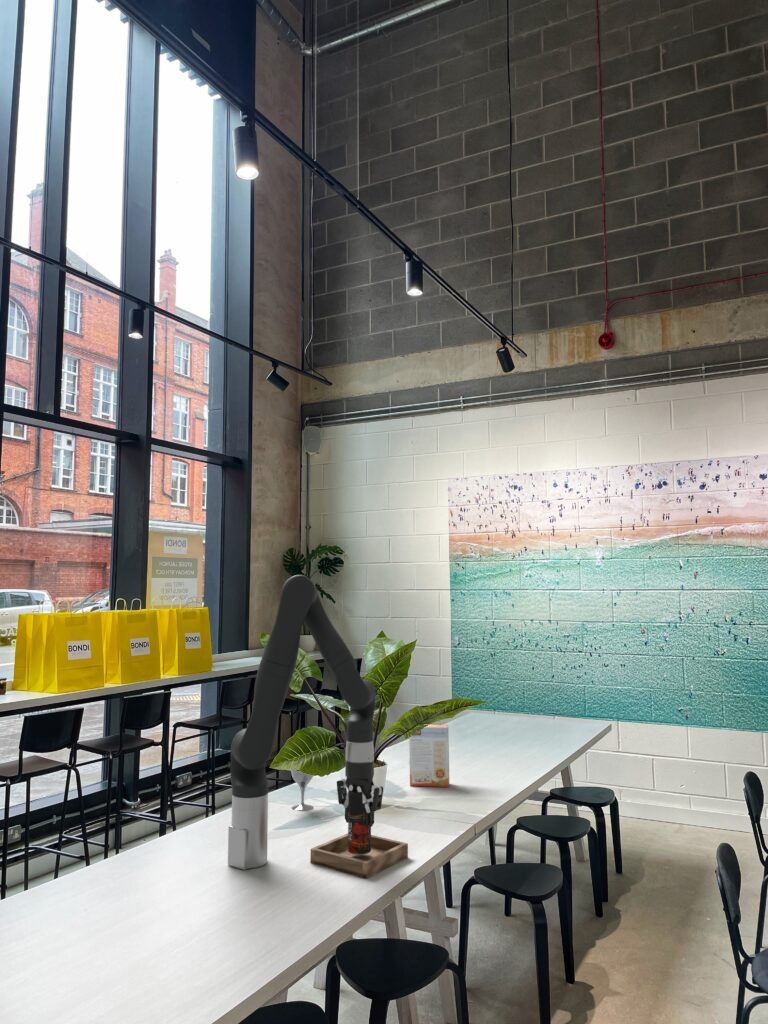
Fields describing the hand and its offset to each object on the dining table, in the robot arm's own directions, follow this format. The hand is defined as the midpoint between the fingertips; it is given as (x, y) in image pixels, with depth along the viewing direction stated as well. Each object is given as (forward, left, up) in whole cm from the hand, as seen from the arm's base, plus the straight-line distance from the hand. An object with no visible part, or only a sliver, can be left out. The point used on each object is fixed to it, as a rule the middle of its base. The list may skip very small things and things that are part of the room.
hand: (359, 824), depth 196 cm
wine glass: (+27, +44, -9) cm, 52 cm away
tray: (0, 0, -9) cm, 9 cm away
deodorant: (0, 0, -7) cm, 7 cm away
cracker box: (+75, +26, -9) cm, 80 cm away
